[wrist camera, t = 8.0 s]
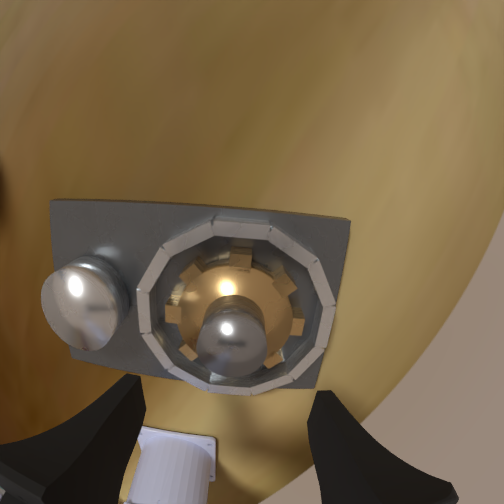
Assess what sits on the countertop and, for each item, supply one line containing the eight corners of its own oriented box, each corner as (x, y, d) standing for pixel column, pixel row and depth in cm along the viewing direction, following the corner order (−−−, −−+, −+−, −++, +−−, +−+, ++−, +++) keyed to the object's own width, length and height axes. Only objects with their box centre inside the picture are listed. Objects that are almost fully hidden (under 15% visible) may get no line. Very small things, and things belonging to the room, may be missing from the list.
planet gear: (288, 365, 20) (296, 409, 16) (172, 354, 20) (156, 396, 15) (310, 254, 18) (330, 282, 13) (172, 240, 17) (148, 263, 13)
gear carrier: (311, 380, 22) (321, 415, 18) (77, 351, 21) (55, 378, 17) (345, 218, 18) (369, 231, 14) (57, 198, 17) (22, 207, 13)
